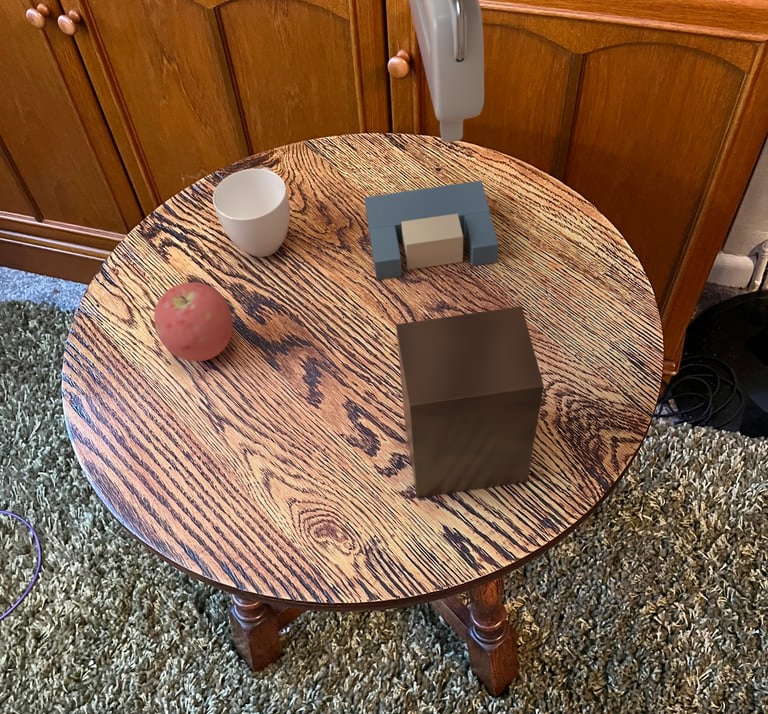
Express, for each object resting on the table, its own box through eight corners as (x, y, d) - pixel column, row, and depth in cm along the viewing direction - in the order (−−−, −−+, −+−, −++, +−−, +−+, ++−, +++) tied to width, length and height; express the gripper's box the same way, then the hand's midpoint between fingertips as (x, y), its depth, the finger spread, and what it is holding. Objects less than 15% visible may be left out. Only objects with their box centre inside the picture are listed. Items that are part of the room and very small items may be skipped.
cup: (219, 265, 85) (202, 215, 79) (246, 202, 89) (231, 151, 83) (287, 272, 83) (274, 222, 78) (310, 208, 88) (300, 156, 82)
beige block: (457, 239, 84) (457, 213, 81) (462, 262, 82) (463, 236, 79) (403, 247, 84) (401, 221, 81) (407, 270, 82) (405, 244, 79)
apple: (241, 372, 77) (220, 317, 70) (168, 381, 78) (140, 327, 71) (240, 316, 81) (221, 259, 74) (171, 325, 81) (145, 268, 74)
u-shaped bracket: (480, 198, 87) (481, 180, 84) (497, 262, 82) (498, 244, 80) (366, 215, 87) (364, 197, 84) (376, 280, 82) (374, 262, 80)
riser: (509, 410, 73) (521, 305, 60) (527, 482, 69) (544, 386, 57) (405, 425, 73) (395, 323, 61) (416, 498, 69) (409, 405, 57)
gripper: (510, -9, 49) (501, 175, 62) (459, -154, 59) (460, 30, 71) (412, 6, 50) (422, 187, 62) (378, -140, 59) (392, 40, 72)
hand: (442, 102), depth 67 cm, fingers open, 8 cm apart
